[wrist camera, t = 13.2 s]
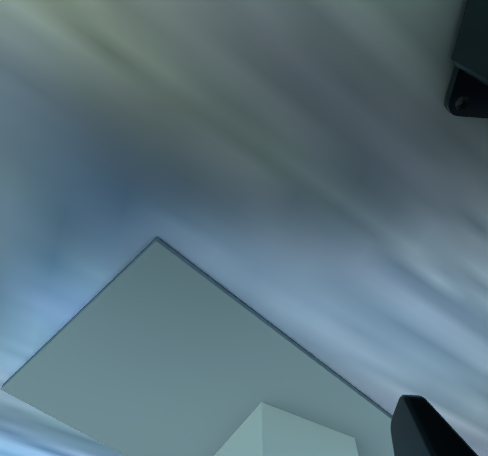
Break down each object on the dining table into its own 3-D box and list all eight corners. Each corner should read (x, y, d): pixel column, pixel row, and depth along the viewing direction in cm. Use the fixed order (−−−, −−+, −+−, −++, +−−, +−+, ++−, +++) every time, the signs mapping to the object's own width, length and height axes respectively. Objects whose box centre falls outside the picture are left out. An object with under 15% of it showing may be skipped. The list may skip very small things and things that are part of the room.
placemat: (431, 446, 29) (432, 450, 29) (270, 528, 35) (270, 533, 34) (157, 237, 22) (156, 240, 21) (3, 384, 27) (0, 389, 26)
